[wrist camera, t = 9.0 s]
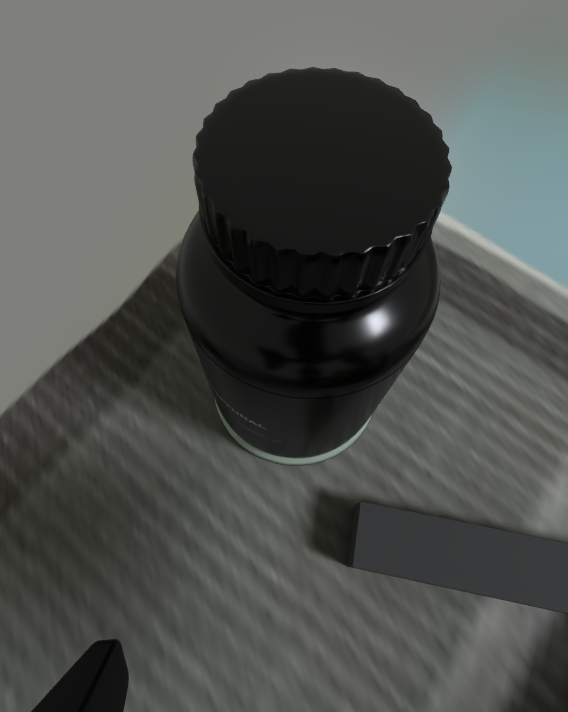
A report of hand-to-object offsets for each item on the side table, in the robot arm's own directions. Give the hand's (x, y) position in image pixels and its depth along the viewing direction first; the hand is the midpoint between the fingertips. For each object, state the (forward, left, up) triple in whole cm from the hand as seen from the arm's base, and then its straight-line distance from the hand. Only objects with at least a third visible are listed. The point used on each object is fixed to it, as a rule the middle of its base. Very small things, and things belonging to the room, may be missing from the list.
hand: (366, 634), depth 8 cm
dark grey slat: (+7, -5, -9) cm, 12 cm away
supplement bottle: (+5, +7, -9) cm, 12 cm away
